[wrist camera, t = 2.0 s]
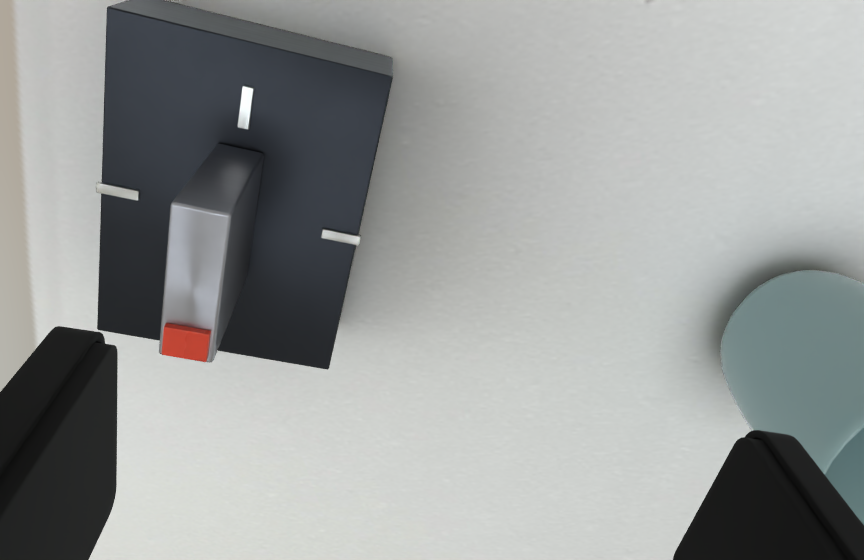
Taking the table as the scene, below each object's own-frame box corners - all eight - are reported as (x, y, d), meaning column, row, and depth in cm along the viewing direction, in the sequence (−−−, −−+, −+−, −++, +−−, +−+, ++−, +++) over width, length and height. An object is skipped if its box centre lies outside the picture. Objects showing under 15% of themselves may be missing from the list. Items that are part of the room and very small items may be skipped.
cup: (793, 406, 34) (931, 575, 26) (665, 358, 33) (766, 521, 24) (900, 281, 31) (1100, 424, 22) (764, 219, 29) (924, 349, 21)
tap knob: (217, 142, 23) (167, 205, 18) (264, 152, 23) (229, 218, 18) (203, 270, 25) (155, 359, 20) (246, 278, 25) (210, 369, 20)
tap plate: (140, -6, 24) (100, 5, 21) (395, 57, 25) (396, 78, 22) (125, 286, 29) (92, 332, 26) (337, 325, 31) (330, 373, 28)
